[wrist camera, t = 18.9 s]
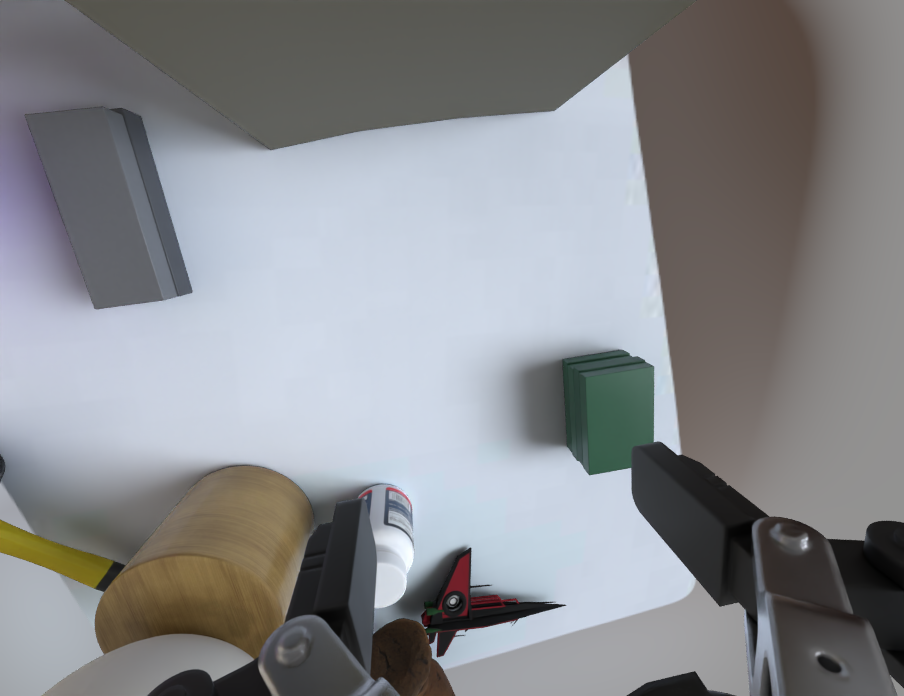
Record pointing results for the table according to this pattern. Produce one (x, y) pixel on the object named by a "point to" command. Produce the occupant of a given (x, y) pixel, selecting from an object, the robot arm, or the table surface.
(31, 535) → the mallet
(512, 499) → the table surface
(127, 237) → the grey book stack
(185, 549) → the lamp
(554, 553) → the table surface
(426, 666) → the sculpture
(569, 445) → the green book stack
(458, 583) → the toy spacecraft
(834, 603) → the robot arm
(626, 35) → the book
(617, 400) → the green pocket book
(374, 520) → the pill bottle
